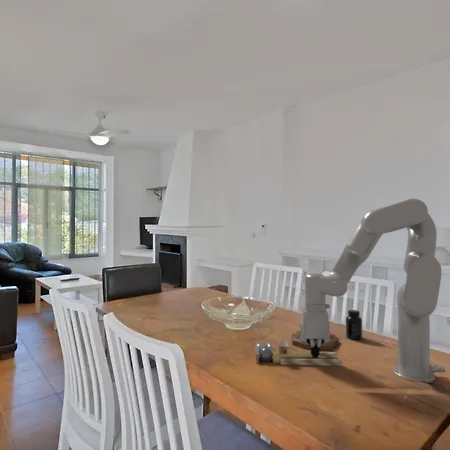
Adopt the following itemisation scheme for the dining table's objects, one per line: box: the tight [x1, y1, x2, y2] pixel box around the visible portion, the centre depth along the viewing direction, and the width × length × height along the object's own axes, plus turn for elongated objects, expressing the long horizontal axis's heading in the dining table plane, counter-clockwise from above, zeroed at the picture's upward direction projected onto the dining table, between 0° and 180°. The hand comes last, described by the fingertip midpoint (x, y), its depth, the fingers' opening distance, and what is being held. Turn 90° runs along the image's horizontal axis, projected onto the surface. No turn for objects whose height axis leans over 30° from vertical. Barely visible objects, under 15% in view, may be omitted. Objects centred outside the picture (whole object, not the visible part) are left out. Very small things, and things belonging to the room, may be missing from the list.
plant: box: [291, 330, 340, 352], centre depth 152 cm, size 20×20×11 cm
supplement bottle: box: [345, 309, 363, 341], centre depth 158 cm, size 7×7×12 cm
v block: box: [254, 341, 275, 355], centre depth 142 cm, size 8×7×3 cm
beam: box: [255, 339, 343, 367], centre depth 131 cm, size 30×8×6 cm, turn 86°
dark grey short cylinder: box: [259, 345, 272, 363], centre depth 132 cm, size 5×4×4 cm
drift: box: [271, 350, 313, 364], centre depth 131 cm, size 14×4×4 cm, turn 90°
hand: (315, 356), depth 131 cm, fingers closed
